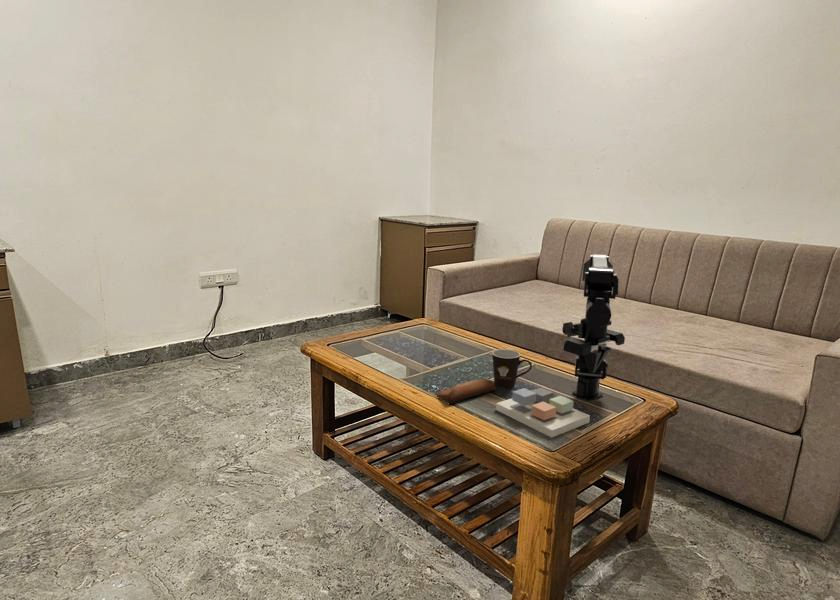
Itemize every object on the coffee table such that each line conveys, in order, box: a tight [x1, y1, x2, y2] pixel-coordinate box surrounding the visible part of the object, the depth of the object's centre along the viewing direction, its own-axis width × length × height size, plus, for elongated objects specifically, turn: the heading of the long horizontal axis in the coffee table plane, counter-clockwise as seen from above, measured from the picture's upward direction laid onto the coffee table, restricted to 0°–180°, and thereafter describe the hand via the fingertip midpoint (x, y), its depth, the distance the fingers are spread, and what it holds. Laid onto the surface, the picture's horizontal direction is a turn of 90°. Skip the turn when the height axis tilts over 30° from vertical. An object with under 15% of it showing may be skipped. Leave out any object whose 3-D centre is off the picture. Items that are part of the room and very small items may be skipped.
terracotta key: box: [531, 402, 556, 420], centre depth 145 cm, size 4×4×2 cm
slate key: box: [511, 387, 536, 406], centre depth 150 cm, size 4×4×2 cm
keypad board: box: [495, 398, 591, 439], centre depth 151 cm, size 15×20×2 cm
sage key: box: [549, 395, 574, 414], centre depth 149 cm, size 4×4×2 cm
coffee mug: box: [491, 348, 533, 389], centre depth 171 cm, size 12×9×10 cm
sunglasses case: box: [434, 379, 496, 405], centre depth 164 cm, size 18×7×7 cm, turn 127°
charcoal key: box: [531, 387, 554, 403], centre depth 155 cm, size 4×4×2 cm
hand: (591, 372), depth 147 cm, fingers closed
